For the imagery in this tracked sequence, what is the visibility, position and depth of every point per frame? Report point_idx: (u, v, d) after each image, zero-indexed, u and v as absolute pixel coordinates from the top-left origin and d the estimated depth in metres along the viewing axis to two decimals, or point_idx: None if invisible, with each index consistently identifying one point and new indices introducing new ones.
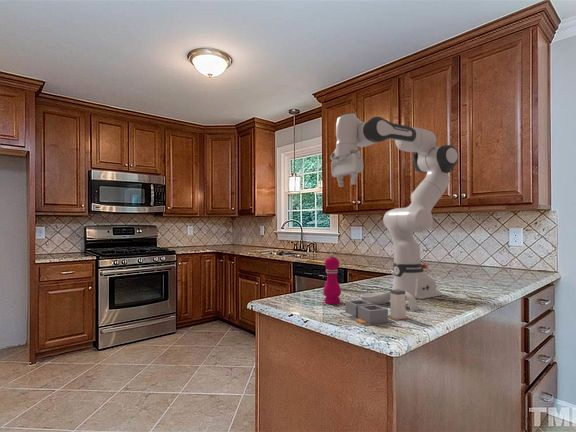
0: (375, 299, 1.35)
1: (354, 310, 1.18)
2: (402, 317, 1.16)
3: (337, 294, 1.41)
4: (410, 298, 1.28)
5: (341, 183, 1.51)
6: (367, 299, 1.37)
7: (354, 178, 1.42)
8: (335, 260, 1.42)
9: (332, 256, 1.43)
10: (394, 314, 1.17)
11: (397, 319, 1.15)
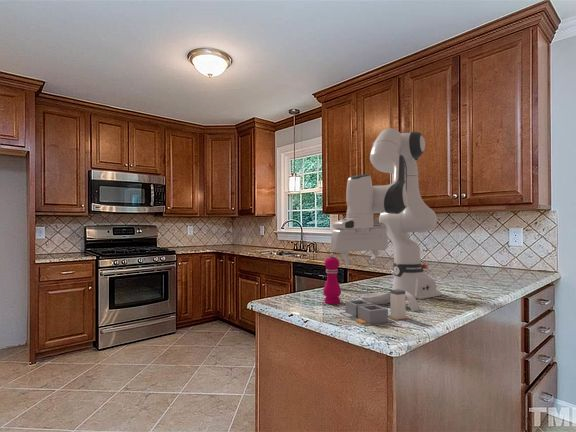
0: (376, 299, 1.35)
1: (354, 310, 1.18)
2: (402, 317, 1.16)
3: (337, 294, 1.41)
4: (411, 298, 1.28)
5: None
6: (368, 299, 1.37)
7: None
8: (335, 260, 1.42)
9: (332, 256, 1.43)
10: (394, 314, 1.17)
11: (397, 319, 1.15)
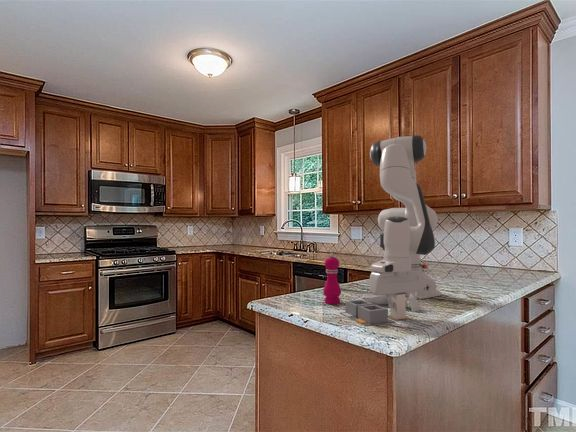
0: (377, 299, 1.35)
1: (354, 310, 1.18)
2: (402, 317, 1.16)
3: (337, 294, 1.41)
4: (412, 299, 1.27)
5: None
6: (369, 299, 1.37)
7: None
8: (335, 260, 1.42)
9: (332, 256, 1.43)
10: (394, 314, 1.17)
11: (397, 319, 1.15)
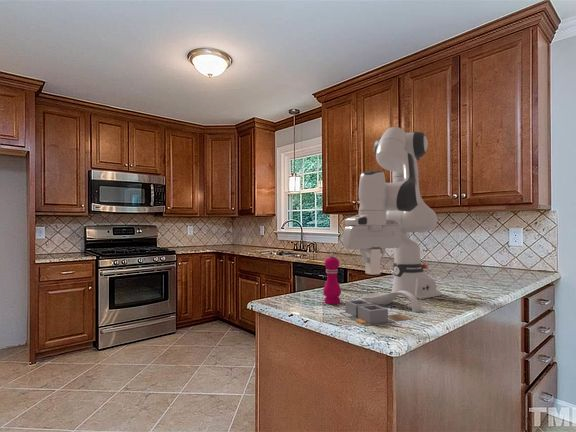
0: (378, 299, 1.34)
1: (354, 310, 1.18)
2: (377, 273, 1.12)
3: (337, 294, 1.41)
4: (412, 299, 1.27)
5: None
6: (369, 300, 1.37)
7: None
8: (335, 260, 1.42)
9: (332, 256, 1.43)
10: (369, 270, 1.13)
11: (397, 319, 1.15)
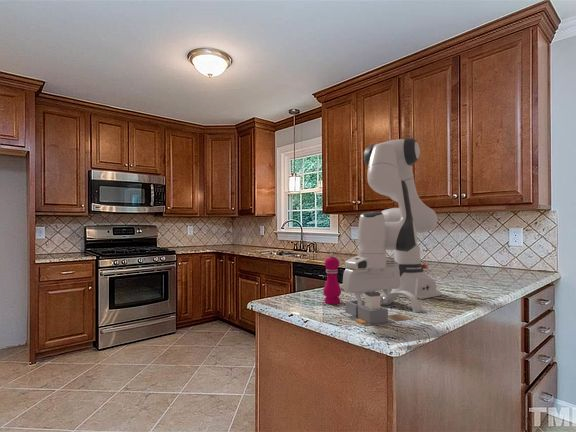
0: None
1: (354, 310, 1.18)
2: None
3: (337, 294, 1.41)
4: (413, 299, 1.26)
5: None
6: None
7: None
8: (335, 260, 1.42)
9: (332, 256, 1.43)
10: None
11: (397, 319, 1.15)
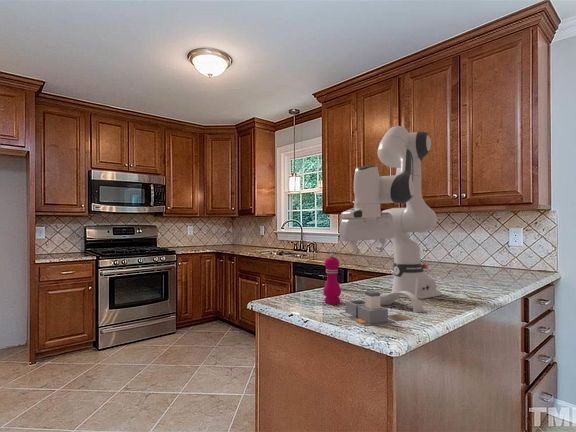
0: None
1: (354, 310, 1.18)
2: None
3: (337, 294, 1.41)
4: (413, 299, 1.26)
5: None
6: None
7: None
8: (335, 260, 1.42)
9: (332, 256, 1.43)
10: None
11: (397, 319, 1.15)
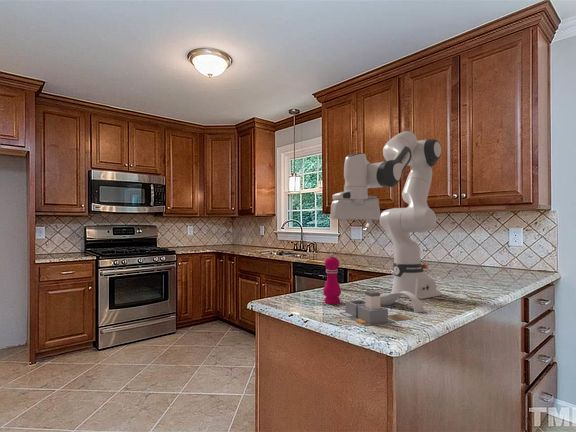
0: (380, 300, 1.34)
1: (354, 310, 1.18)
2: None
3: (337, 294, 1.41)
4: (414, 300, 1.26)
5: None
6: None
7: None
8: (335, 260, 1.42)
9: (332, 256, 1.43)
10: None
11: (397, 319, 1.15)
